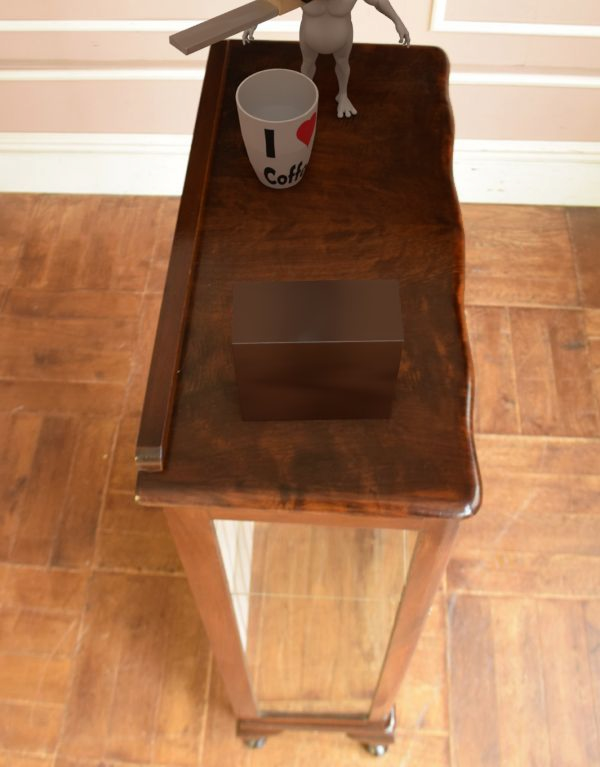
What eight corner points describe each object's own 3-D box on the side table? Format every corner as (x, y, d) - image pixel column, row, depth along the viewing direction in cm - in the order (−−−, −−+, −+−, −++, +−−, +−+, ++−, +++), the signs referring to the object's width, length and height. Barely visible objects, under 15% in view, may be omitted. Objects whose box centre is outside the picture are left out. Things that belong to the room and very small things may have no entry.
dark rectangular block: (385, 361, 71) (398, 278, 61) (390, 418, 68) (404, 340, 58) (244, 364, 71) (233, 281, 61) (242, 421, 68) (231, 344, 58)
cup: (258, 207, 82) (252, 131, 73) (232, 157, 86) (224, 80, 77) (328, 186, 83) (331, 109, 75) (300, 138, 87) (300, 60, 79)
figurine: (245, 125, 89) (232, -29, 73) (249, 87, 92) (238, -68, 77) (402, 129, 88) (422, -26, 73) (400, 90, 92) (419, -65, 76)
